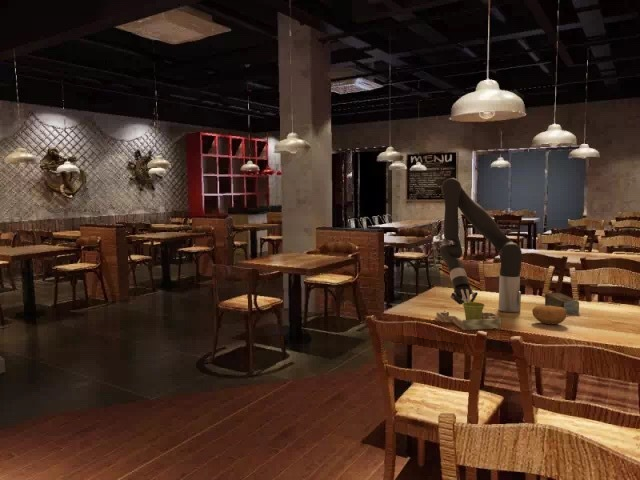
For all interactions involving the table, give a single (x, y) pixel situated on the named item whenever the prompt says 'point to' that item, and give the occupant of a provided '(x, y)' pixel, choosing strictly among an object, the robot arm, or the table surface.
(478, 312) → the plant pot
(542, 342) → the table surface
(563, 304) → the beverage carton
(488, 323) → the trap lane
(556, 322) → the potato
